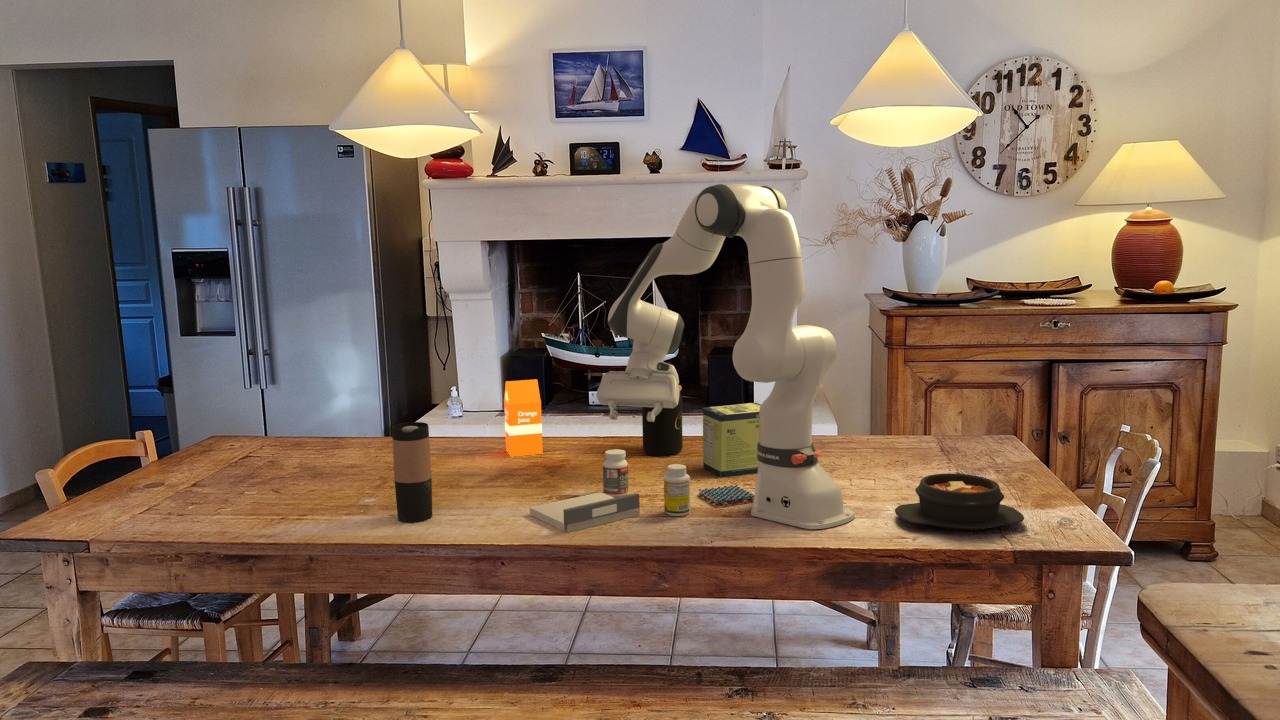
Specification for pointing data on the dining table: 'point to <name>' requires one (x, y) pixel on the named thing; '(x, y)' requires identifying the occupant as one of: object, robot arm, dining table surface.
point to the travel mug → (412, 471)
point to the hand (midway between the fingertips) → (631, 419)
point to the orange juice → (523, 418)
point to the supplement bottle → (677, 491)
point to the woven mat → (726, 496)
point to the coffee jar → (663, 430)
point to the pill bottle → (615, 473)
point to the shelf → (587, 511)
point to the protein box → (731, 439)
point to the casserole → (959, 503)
